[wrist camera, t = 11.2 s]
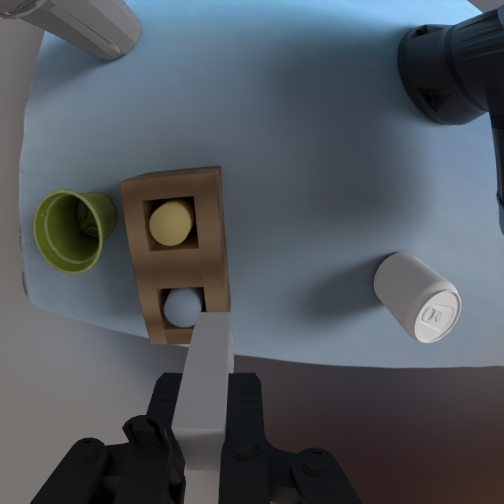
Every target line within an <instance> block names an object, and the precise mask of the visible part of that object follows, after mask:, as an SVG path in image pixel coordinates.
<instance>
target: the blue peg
mask: <svg viewBox="0 0 504 504" xmlns="http://www.w3.org/2000/svg"><path fill="white" fill-rule="evenodd" d="M203 298H204V287H188V288H172V289H171V291H170V293H169V296H168V298H167V300H166V303H165V306H164V314H165V316H166V318H167V319H168V320H169V321H170V322H171V323H172V324H174V325H176V326H179V327H190V326H192V325H194V324H195V322H196V318H197V314H198V312H201V308H202V303H203Z"/></svg>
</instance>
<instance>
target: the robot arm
mask: <svg viewBox="0 0 504 504" xmlns="http://www.w3.org/2000/svg"><path fill="white" fill-rule="evenodd" d="M398 68H399V73H400V76H401V80H402V82H403V85H404V87H405V89H406V91H407V93H408V95H409V96H410V98H411V99H412V101H413V102H414V103H415V105H416V106H417V107H418V108H419V109H420V110H421V111H422V112H423V113H424V114H425V115H426V116H428V117H429V118H431V119H432V120H434V121H436V122H438V123H441V124H446V125H462V124H466V123H469V122H471V121H472V120H474V119H476V118H478V117H479V116H481V115H483V114H485V113H486V112H489V114H490V120H491V126H492V133H493V140H494V148H495V157H496V170H497V194H496V195H497V196H496V197H497V201H498V204H499V224H500V228H501V231H502V233H503V235H504V5H502V6H500V7H498V9H495V10H492V11H489V12H486V13H483V14H481V15H478V16H476V17H473V18H470V19H468V20H465V21H463V22H461V23H458V24H456V25H437V24H427V25H422V26H419V27H417V28H415V29H413V30H412V31H410V32H408V33H407V34H406V35H405V36H404V37H403V39H402V41H401V43H400V45H399V49H398ZM233 366H234V353H233V339H232V325H231V312H198V314H197V318H196V322H195V326H194V330H193V334H192V338H191V342H190V347H189V351H188V355H187V359H186V364H185V368H184V373H163V375H162V376H161V377H160V378H159V379H158V380H157V381H156V384H155V388H154V392H153V394H152V397H151V401H150V404H149V407H148V410H147V413H146V415H139V416H136V417H133V418H131V419H129V420H128V421H127V422H126V423H125V424H124V426H123V427H122V429H123V431H124V433H125V435H126V436H127V438H128V440H129V442H128V443H123V444H116V445H106V446H105V445H104V443H102V442H101V441H100V440H98V439H95V438H83V439H81V440H79V441H77V442H76V443H75V444H74V445H73V446H72V448H71V449H70V450H69V452H68V453H67V454H66V455H65V457H64V458H63V459H62V461H61V462H60V464H59V465H58V466H57V467H56V469H55V470H54V471H53V473H52V474H51V475H50V477H49V478H48V480H47V481H46V482H45V484H44V485H43V486H42V488H41V489H40V491H39V492H38V493H37V495H36V496H35V497H34V499H33V500H32V501H31V503H30V504H184V495H185V487H186V480H185V476H184V468H185V464H186V467H187V469H190V470H206V471H220V481H219V482H220V483H219V501H218V502H219V503H218V504H270V501H273V502H277V503H282V504H363V503H362V502H361V500H360V498H359V497H358V495H357V493H356V492H355V490H354V489H353V487H352V485H351V483H350V482H349V480H348V478H347V477H346V475H345V473H344V472H343V470H342V468H341V467H340V465H339V463H338V462H337V460H336V458H335V457H334V456H333V455H332V454H331V453H330V452H329V451H327V450H325V449H321V448H315V447H314V448H308V449H304V450H302V451H300V452H298V453H292V452H287V451H283V450H279V449H277V448H275V447H273V446H272V445H271V444H270V443H269V442H268V441H267V439H266V438H265V433H264V420H263V405H262V392H261V381H260V380H259V378H258V377H257V375H256V374H255V373H233Z"/></svg>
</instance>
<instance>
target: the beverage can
mask: <svg viewBox="0 0 504 504" xmlns="http://www.w3.org/2000/svg"><path fill="white" fill-rule="evenodd" d="M374 291H375V293H376V295H377V297H378V298H379V299H380V300H381V302H382V303H383V304H384V305H385V306H386V308H387V309H388V310H389V311H390V312H391V314H392V315H393V316H394V317H395V319H396V320H397V321H398V322H399V324H400V325H401V326H402V327H403V328H404V330H405V331H406V332H407V333H408V335H409V336H410V337H411V338H413V339H415V340H418V341H420V342H422V343H432V342H435V341H438V340H439V339H441V338H443V337H444V336H445V335H446V334H448V333H449V332H450V330H451V329H452V328H453V327H454V325H455V324H456V322H457V320H458V318H459V315H460V312H461V299H460V297H459V295H458V292H457V290H456V288H455V287H454V285H452V284H451V283H450V282H449V281H447V280H446V279H445V278H444V277H442V276H441V275H440V274H438V273H437V272H436V271H434V270H433V269H432V268H430V267H429V266H428V265H426V264H425V263H423V262H422V261H421V260H419V259H418V258H417V257H415V256H414V255H412V254H410V253H407V252H399V253H395V254H393V255H391V256H389V257H388V258H387V259H385V260H384V261H383V262H382V264H381V265H380V266H379V268H378V270H377V272H376V274H375V278H374Z"/></svg>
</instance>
